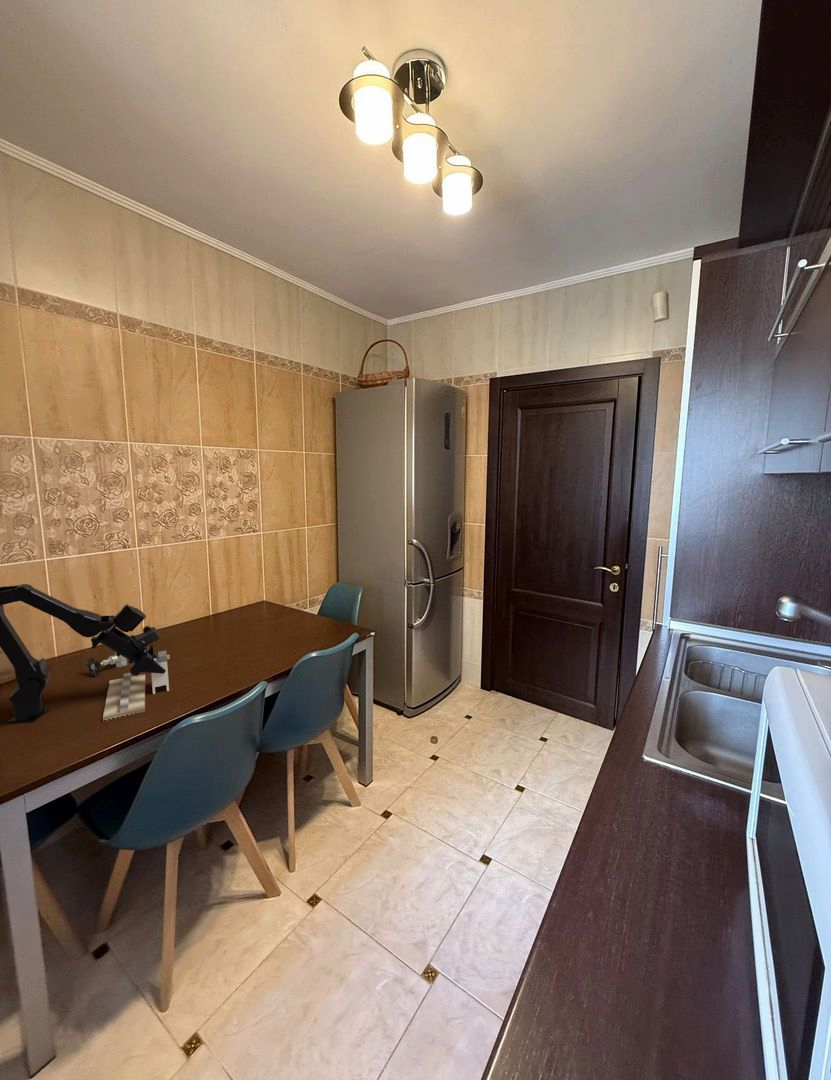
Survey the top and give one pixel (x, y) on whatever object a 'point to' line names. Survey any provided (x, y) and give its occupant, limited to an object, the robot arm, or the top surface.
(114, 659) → the valve
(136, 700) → the din board
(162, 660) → the breaker module
